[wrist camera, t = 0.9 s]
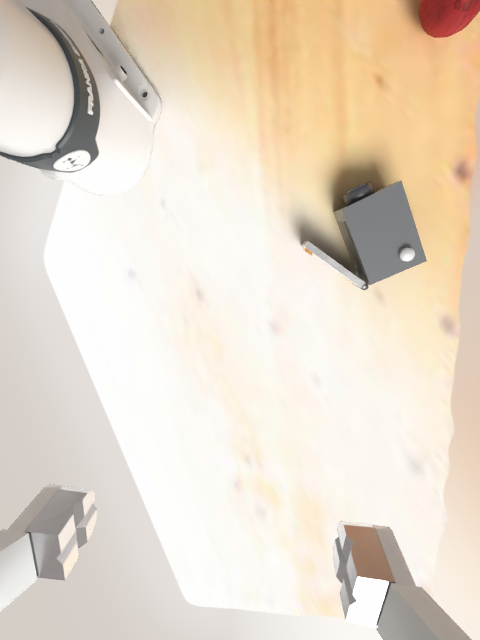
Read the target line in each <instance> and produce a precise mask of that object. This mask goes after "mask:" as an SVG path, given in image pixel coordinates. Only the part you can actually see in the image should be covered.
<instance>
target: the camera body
mask: <svg viewBox="0 0 480 640" xmlns="http://www.w3.org/2000/svg"><path fill="white" fill-rule="evenodd" d="M343 198H344V201H345V204H346V206H345V207H343V208H341V209H339V210H337V211H334V215H335V218H336V220H337V223H338V226H339V228H340V231H341V233H342V236H343V239H344V241H345V244H346V247H347V249H348V252H349V255H350V257H351V260H352V263H353V265H354V268H355V270H356V273H357V276H358V278H359V279H361V280H362V281H364V282H365V283H367V284H369V285H371V284H373V283H376V282H378V281H381V280H383V279H385V278H388V277H390V276H392V275H395V274H397V273H399V272H402V271H404V270H406V269H409V268H411V267H413V266H416V265H418V264H420V263H423V262H425V261H427V260H426V257H425V254H424V251H423V248H422V245H421V241H420V238H419V235H418V232H417V229H416V226H415V222H414V219H413V216H412V213H411V210H410V207H409V204H408V200H407V197H406V194H405V191H404V188H403V185H402V181H399V182H396V183H394V184H391V185H389V186H386V187H384V188H382V189H380V190H378V191H376V192H374V190H373V187H372V184H371V182H369V183H367V184H365V183H364V184H362V185H360V186H358V187H356V188H354V189H352V190H350V191H348V192H347V194H345V195H343Z"/></svg>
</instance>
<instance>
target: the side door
mask: <svg viewBox="0 0 480 640" xmlns="http://www.w3.org/2000/svg"><path fill="white" fill-rule="evenodd" d="M301 246H302V247H303V248H304V249H303V250H304V251H306V252H307V253H308V254H310V255H312V254H313V255H314V256H316V257H317V258H318V259H320V260H321V261H323V262H324V263H325V264H327V265H328V266H329V267H331V268H332V269H334V270H335V271H336V272H338V273H339V274H340V275H342V276H343V277H345V278H346V279H347V280H349V281H350V282H351V283H352V284H354V285H355V286H357V287H359V288H361V289H363V290H366V289H368V284H367V283H365V282H364V281H362V280H361V279H359V278H358V277H357V276H355V275H354V274H353V273H351V272H350V271H349V270H347V269H346V268H344V267H343V266H342V265H340V264H339V263H338V262H336V261H335V260H334V259H332V258H331V257H329V256H328V255H327V254H325V253H324V252H323V251H321V250H320V249H318V248H317V247H316V246H314V245H313V244H312V243H310V242H308V241H304V243H303V244H302V245H301Z"/></svg>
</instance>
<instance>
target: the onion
mask: <svg viewBox="0 0 480 640" xmlns="http://www.w3.org/2000/svg"><path fill="white" fill-rule="evenodd" d="M479 11H480V0H421V3H420V12H419V16H420V20H421V25H422V28H423V29H424V31H425V32H426V33H427V34H428V35H430V36H432V37H434V38H437V37H449V36H451V35H453V34H455V33H457V32H459V31H461V30H462V29H463V28H465V27H466V26H467V25H468V24H469V23H470V22H471V21H472V19H473V18H474V17H475V16H476V15H477V14H478V12H479Z"/></svg>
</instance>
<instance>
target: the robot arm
mask: <svg viewBox="0 0 480 640" xmlns="http://www.w3.org/2000/svg"><path fill="white" fill-rule="evenodd" d="M145 92H147V97H145V98H144V97H143V94H144V93H145ZM161 108H162V102H161V99H160V97H159V96H158V94H157V93H156V92H155V90H154V89H153V87H152V86H151V84H150V83H149V82H148V80H147V79H146V77H145V76H144V74H143V73H142V72H141V70H140V69H139V67H138V66H137V64H136V63H135V62H134V60H133V59H132V57H131V56H130V55H129V53H128V52H127V50H126V49H125V47H124V46H123V45H122V43H121V42H120V40H119V39H118V37H117V36H116V35H115V33H114V32H113V30H112V29H111V27H110V26H109V25H108V23H107V22H106V21H105V19H104V18H103V16H102V15H101V13H100V12H99V10H98V9H97V8H96V6H95V5H94V4H93V2H92V1H91V0H0V155H1V156H3V157H5V158H8V159H9V160H12V161H15V162H17V163H18V162H19V163H22V164H25V165H29V166H32V167H35V168H38V169H40V170H41V172H42V173H43V174H44V175H46V176H48V177H50V178H52V179H56V180H63V181H68V182H70V183H72V184H74V185H75V186H77V187H79V188H81V189H82V190H84V191H86V192H89V193H92V194H95V195H101V196H111V195H116V194H120V193H122V192H125V191H126V190H128V189H130V188H131V187H132V186H134V185H135V184H136V183H137V182H138V181H139V180H140V178H141V177H142V176H143V174H144V173H145V171H146V169H147V167H148V164H149V162H150V158H151V154H152V147H153V132H154V127H155V124H156V122H157V120H158V118H159V115H160V112H161ZM95 499H96V496H95V491H93V490H87V489H81V488H75V487H69V486H62V485H55V484H49V485H47V486H46V487H44V488H43V490H42V491H41V492H40V493H39V494H38V495H37V496H36V497H35V499H34V500H33V501H32V502H31V503H30V505H29V506H28V507H27V508H26V509H25V510H24V511H23V512H22V514H21V515H20V516H19V517H18V518H17V519H16V520H15V522H14V523H13V524H12V525H11V526H10V527H9V529H8V530H4V529H3V530H1V531H0V611H1V610H3V609H4V608H5V607H6V606H7V605H8V604H10V603H11V602H12V601H13V600H14V599H15V598H17V597H18V596H19V595H20V594H21V593H22V592H23V591H24V590H25V589H27V588H28V587H29V586H30V585H32V584H33V583H34V582H35V581H36V580H37V577H38V578H48V579H57V580H66V578H67V576H68V575H69V573H70V571H71V569H72V568H73V566H74V564H75V563H76V561H77V559H78V557H79V552H78V551H79V550H78V549H79V548H80V547H81V546H83V545H84V544H85V543H87V542H88V540H89V538H90V536H91V534H92V533H93V530H94V527H95V524H96V520H97V508H96V507H95V506H94V505H93V502H94V500H95ZM337 531H338V535H339V537H338V538H337V539H335V542H334V548H333V559H334V567H335V572H336V577H337V578H338V579H339V581H340V582H341V583H342V587H341V591H340V596H341V601H342V606H343V610H344V615H345V620H346V622H351V623H356V624H362V625H367V626H373V627H377V631H378V632H379V634H380V635H381V637H382V639H383V640H471V639H470V638H469V636H468V635H467V634H466V633H465V632H464V631H463V630H462V629H461V628H460V627H459V626H458V625H457V624H456V623H455V622H454V621H453V620H452V619H451V618H450V616H449V615H447V613H445V612H444V610H443V609H442V608H441V607H440V606H439V605H438V604H437V603H436V602H435V601H434V600H433V599H432V598H431V597H430V596H429V594H428V593H427V592H426V591H425V590H424V589H423V588H422V587H418V586H416V585H415V582H414V580H413V578H412V575H411V573H410V571H409V569H408V566H407V564H406V562H405V559H404V557H403V555H402V552H401V550H400V548H399V546H398V543H397V541H396V539H395V536H394V534H393V532H392V530H391V529H390V528H389V527H384V526H376V525H371V524H362V523H353V522H344V521H340V522H339V524H338V528H337Z"/></svg>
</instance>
